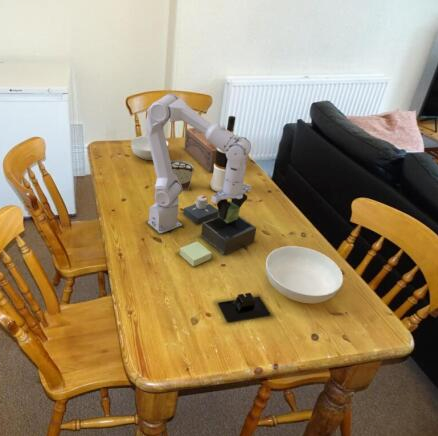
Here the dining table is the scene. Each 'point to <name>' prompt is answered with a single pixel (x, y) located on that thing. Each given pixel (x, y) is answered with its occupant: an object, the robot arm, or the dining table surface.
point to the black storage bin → (228, 234)
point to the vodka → (221, 162)
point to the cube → (231, 213)
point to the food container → (183, 172)
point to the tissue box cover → (200, 148)
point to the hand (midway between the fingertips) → (227, 215)
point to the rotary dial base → (200, 213)
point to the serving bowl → (303, 274)
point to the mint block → (195, 253)
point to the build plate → (243, 308)
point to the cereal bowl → (142, 147)
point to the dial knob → (201, 202)
